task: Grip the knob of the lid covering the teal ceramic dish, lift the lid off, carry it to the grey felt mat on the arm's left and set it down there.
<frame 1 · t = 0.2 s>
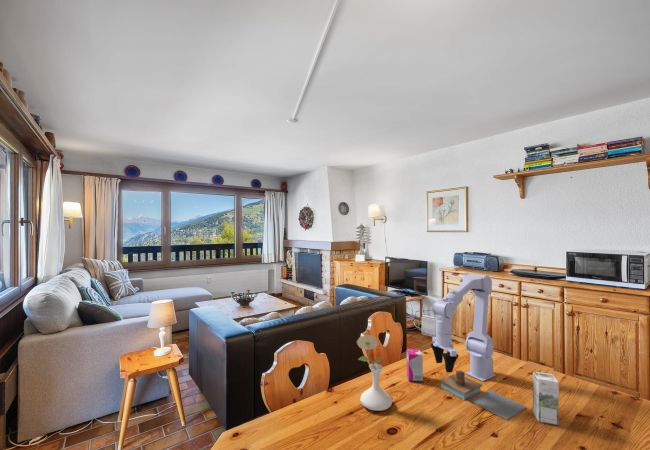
hand: (444, 367, 117), 10 cm above the table, fingers open, 7 cm apart
syrup box: (545, 419, 101), on the table
flower in vase: (373, 404, 109), on the table
supplement box: (414, 379, 128), on the table
dish: (460, 390, 118), on the table
mat: (497, 404, 109), on the table
lid: (460, 384, 118), point 2 cm above the table, touching dish
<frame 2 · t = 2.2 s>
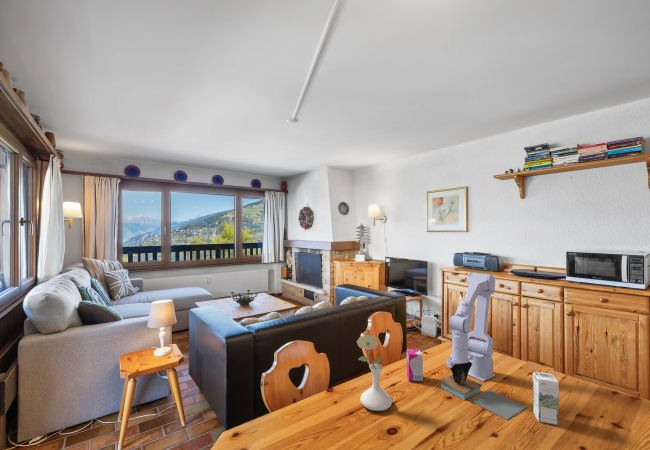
hand: (460, 381, 118), 4 cm above the table, fingers closed on lid, 3 cm apart
lid: (460, 384, 118), point 2 cm above the table, touching dish, gripper
everything else where it was.
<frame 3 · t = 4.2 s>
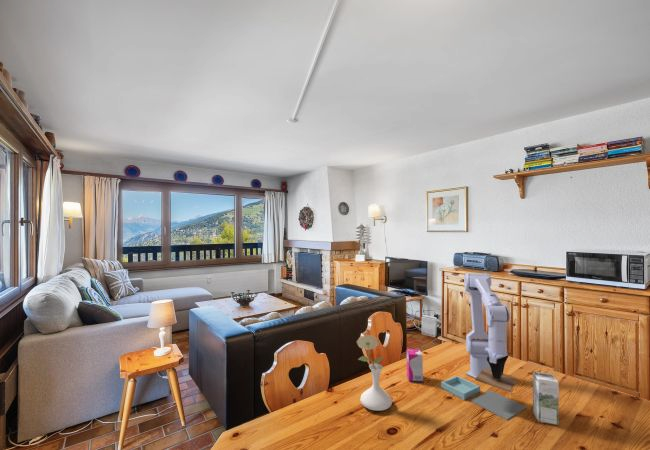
hand: (497, 376, 109), 10 cm above the table, fingers closed on lid, 3 cm apart
lid: (496, 380, 109), point 9 cm above the table, touching gripper
everything else where it was.
when the fingers open (3 cm above the table, at t = 6.2 s): lid drops 1 cm, resting on mat.
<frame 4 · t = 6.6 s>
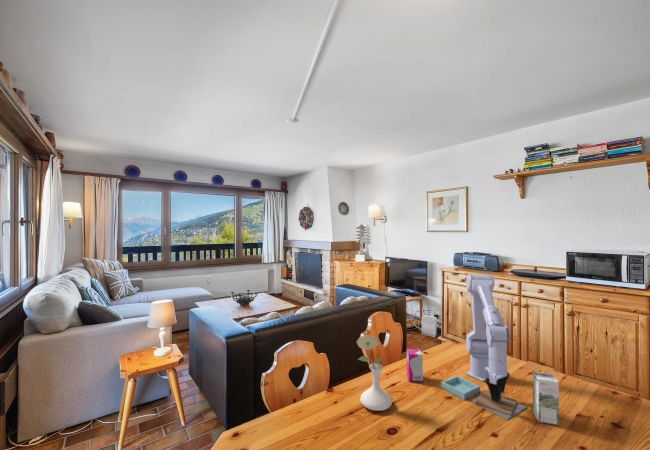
hand: (497, 396, 109), 3 cm above the table, fingers open, 7 cm apart
lid: (496, 402, 109), resting on mat
everything else where it was.
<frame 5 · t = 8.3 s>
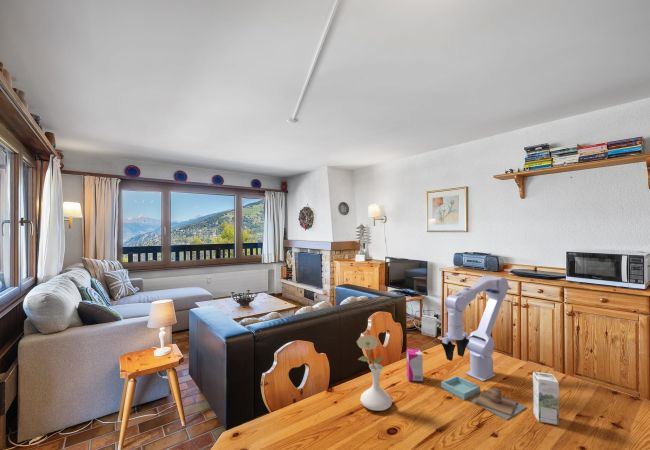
hand: (455, 357, 124), 10 cm above the table, fingers open, 7 cm apart
nothing on the table moved.
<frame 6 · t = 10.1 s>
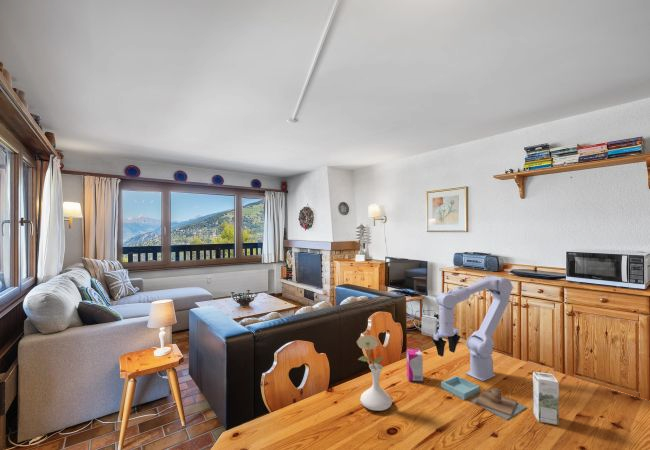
hand: (446, 353, 128), 10 cm above the table, fingers open, 7 cm apart
nothing on the table moved.
at the end: lid inside the target area on the mat (0.5 cm from its centre), point 0.4 cm above the mat's base; lid touching mat; lid tilted 0° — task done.
